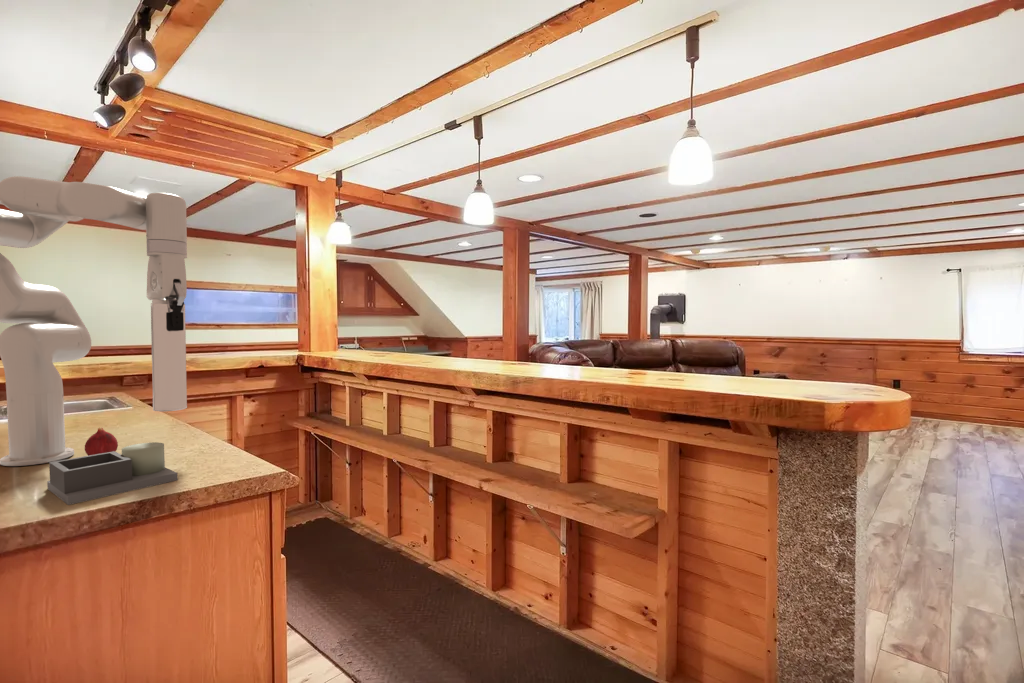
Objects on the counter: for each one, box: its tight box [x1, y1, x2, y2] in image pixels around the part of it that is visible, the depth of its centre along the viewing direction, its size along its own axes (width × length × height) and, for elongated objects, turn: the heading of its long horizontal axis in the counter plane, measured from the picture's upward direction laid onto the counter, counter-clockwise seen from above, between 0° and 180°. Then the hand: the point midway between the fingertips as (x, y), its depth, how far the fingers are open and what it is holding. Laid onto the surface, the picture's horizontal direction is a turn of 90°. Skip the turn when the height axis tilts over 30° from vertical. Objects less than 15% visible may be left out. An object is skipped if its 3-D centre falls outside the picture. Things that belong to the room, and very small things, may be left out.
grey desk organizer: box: [46, 441, 178, 506], centre depth 99 cm, size 14×17×6 cm
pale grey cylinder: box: [150, 299, 188, 412], centre depth 114 cm, size 6×6×25 cm
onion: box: [84, 426, 119, 456], centre depth 114 cm, size 6×6×8 cm
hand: (168, 329), depth 114 cm, fingers closed on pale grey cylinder, 6 cm apart
